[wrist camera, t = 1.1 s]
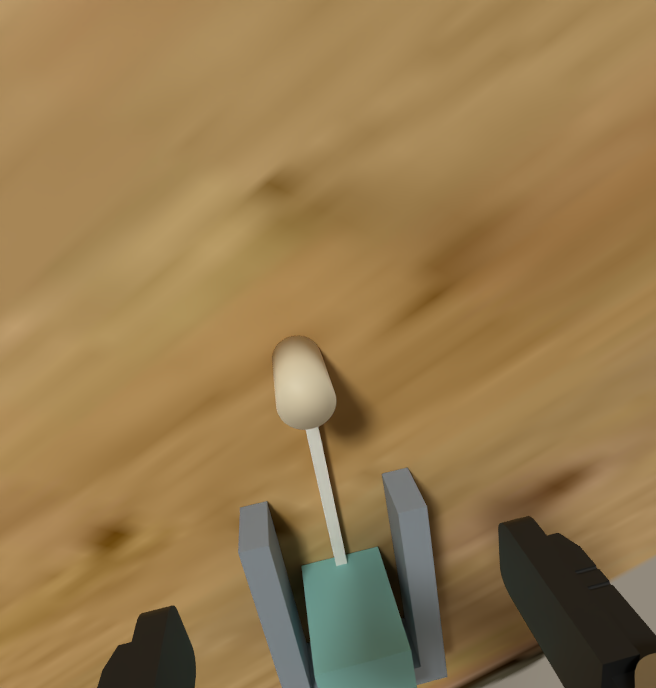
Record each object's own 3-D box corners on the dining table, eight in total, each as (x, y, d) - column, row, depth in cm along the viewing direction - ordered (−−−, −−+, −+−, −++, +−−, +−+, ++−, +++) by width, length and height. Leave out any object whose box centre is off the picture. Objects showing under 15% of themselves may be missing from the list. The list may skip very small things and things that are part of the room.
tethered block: (338, 326, 25) (368, 384, 18) (387, 601, 32) (420, 711, 26) (244, 346, 24) (240, 413, 18) (315, 620, 32) (331, 736, 26)
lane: (407, 467, 29) (427, 506, 25) (428, 627, 34) (447, 676, 31) (240, 507, 28) (238, 553, 25) (288, 664, 33) (292, 718, 30)
